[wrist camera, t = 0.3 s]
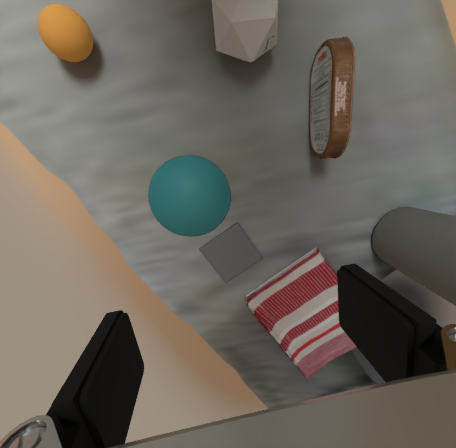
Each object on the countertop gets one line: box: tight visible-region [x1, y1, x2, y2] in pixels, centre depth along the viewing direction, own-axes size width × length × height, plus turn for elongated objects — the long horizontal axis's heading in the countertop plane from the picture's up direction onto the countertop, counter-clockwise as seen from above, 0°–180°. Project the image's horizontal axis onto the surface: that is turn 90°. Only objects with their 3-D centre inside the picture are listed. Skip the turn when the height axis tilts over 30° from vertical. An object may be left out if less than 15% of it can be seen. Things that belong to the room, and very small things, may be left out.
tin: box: [309, 37, 355, 159], centre depth 34 cm, size 15×3×8 cm, turn 4°
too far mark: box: [200, 223, 262, 283], centre depth 43 cm, size 8×8×1 cm
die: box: [212, 0, 278, 62], centre depth 31 cm, size 8×9×10 cm
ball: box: [38, 4, 93, 62], centre depth 30 cm, size 6×6×6 cm
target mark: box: [149, 156, 230, 236], centre depth 39 cm, size 13×13×1 cm
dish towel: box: [245, 248, 356, 378], centre depth 47 cm, size 17×23×3 cm
